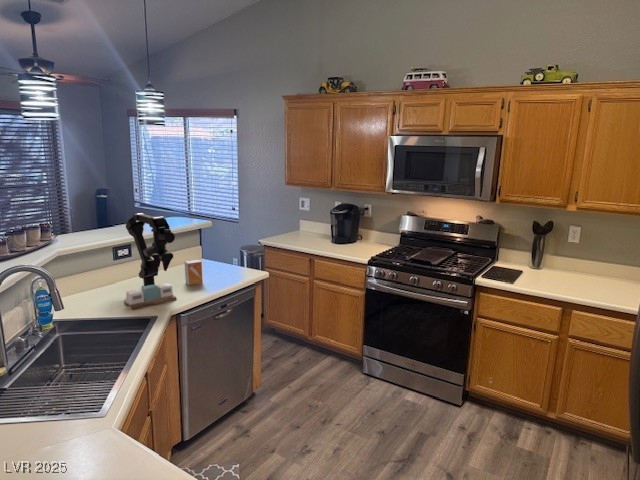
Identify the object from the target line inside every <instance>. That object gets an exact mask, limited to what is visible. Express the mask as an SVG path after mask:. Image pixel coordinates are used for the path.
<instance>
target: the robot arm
mask: <svg viewBox="0 0 640 480" xmlns="http://www.w3.org/2000/svg"><path fill="white" fill-rule="evenodd" d="M146 224H147V225H148V226H149V227H150V228H152V229H150V231H151V233H152V234H153V235H152V236H153V242H151V245H150V246H148V247H147V243H146V241H145V237H144V229H145V228H144V226H145V225H146ZM125 229H126V230H127V232H128V234H129V235H130V236H132V237H133V240H134V242H135V246H136V249H137V251H138V255H139V257H140V260H141V264H140V271H139V272H138V277H139V278H140V279H143V281H142V282H143V285H141V288H142V287H143V286H148V285H153V284H154V285H155V286H156V285H157V284H156V283H155V277H157V276H158V274H159V268H160V267H161V263H162V268H163V271H164V272H167V270H168V267H169V266H170V264H171V261H172V260H173V259H174V254H173V253H172V252H170V251H168V249H167V244H171V243H173V242H174V241H175V238H176V235H175V233H174V232H172V230H171V228H170V225H169V223H168V221H167V219H166V218H165V217H164V216H163V215H162V216H161V215H160V216H159V215H158V216H152V215H149V214H146V213H143V212H140V213H135V214H133V216H132V217H131V218H129V219H128V220H127V222H126V224H125ZM152 258H153V259H152Z"/></svg>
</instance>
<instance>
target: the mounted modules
mask: <svg viewBox="0 0 640 480" xmlns="http://www.w3.org/2000/svg"><path fill="white" fill-rule="evenodd" d="M155 285H156V286H157V288H158V296H160V297H166V296H170V295H174V294H173V285H172V284H170V283H168V282H166V283H161V284H155ZM125 294H126V295H125V297H126V300H127V302H129V303H130V304H136V303H140V302H144V298H143V292H142V289H141V290H140V289H132V290H129V291H125Z"/></svg>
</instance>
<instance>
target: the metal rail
mask: <svg viewBox="0 0 640 480" xmlns="http://www.w3.org/2000/svg"><path fill="white" fill-rule="evenodd" d="M170 296H175V294H173V295H170ZM170 296H166V297H170ZM166 297H160V296H158V298H156V299H151V300H147V301H146V300H145V299H144V302H148V301H153V300H157V299H161V298H166ZM125 301H126V300H125ZM144 302H140V303H144ZM126 303H127V304H129V305H130V306H131V305H136V304H140V303H136V304H130V303H129V302H127V301H126Z"/></svg>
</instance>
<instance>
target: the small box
mask: <svg viewBox="0 0 640 480" xmlns="http://www.w3.org/2000/svg"><path fill="white" fill-rule="evenodd" d="M202 264H203V263H202V261H201V260H199V259H194V260H193V259H192V260H185V261H184V272H185V273H184V274H185V275H184V276H185V277H184V278H185V283H186V285H187V286H194V285H203V265H202Z"/></svg>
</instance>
